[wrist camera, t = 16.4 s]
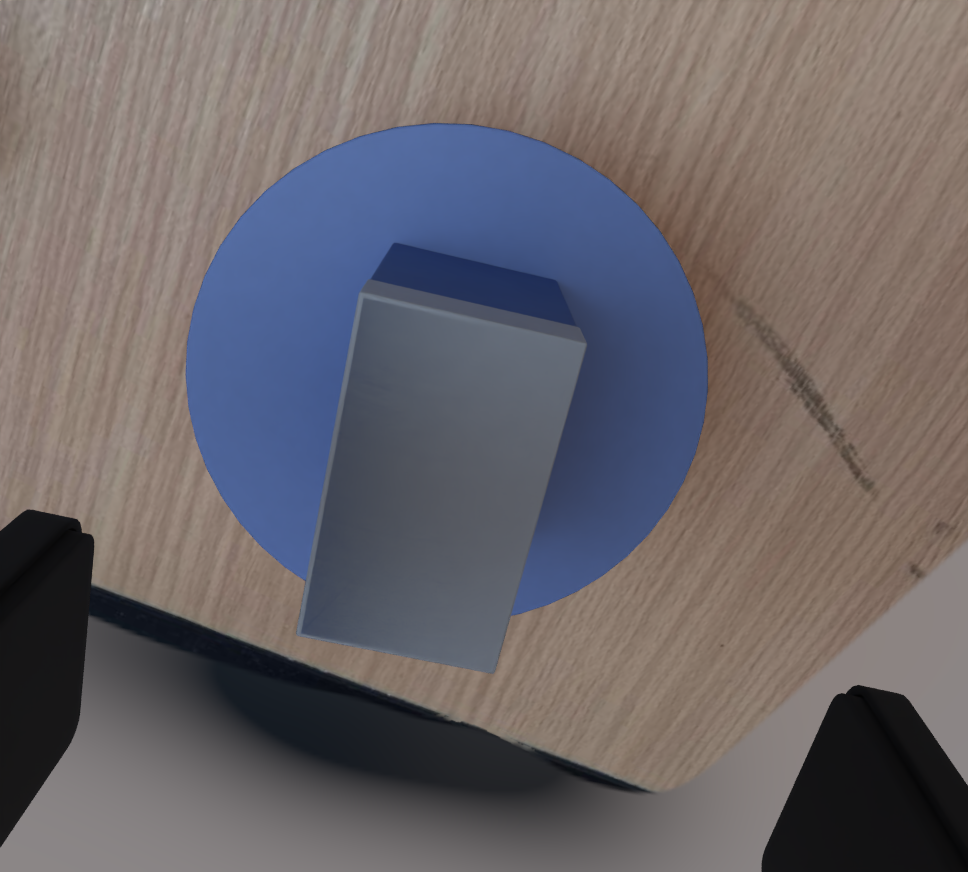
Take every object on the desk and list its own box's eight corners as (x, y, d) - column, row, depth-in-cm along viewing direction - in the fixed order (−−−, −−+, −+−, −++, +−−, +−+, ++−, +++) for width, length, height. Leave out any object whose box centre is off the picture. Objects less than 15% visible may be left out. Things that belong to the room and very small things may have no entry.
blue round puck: (706, 175, 27) (783, 198, 20) (592, 542, 31) (624, 663, 25) (288, 71, 26) (219, 59, 19) (231, 466, 30) (159, 571, 24)
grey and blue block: (558, 279, 21) (588, 343, 15) (491, 538, 23) (494, 675, 18) (392, 240, 21) (359, 291, 15) (340, 506, 23) (295, 636, 17)
